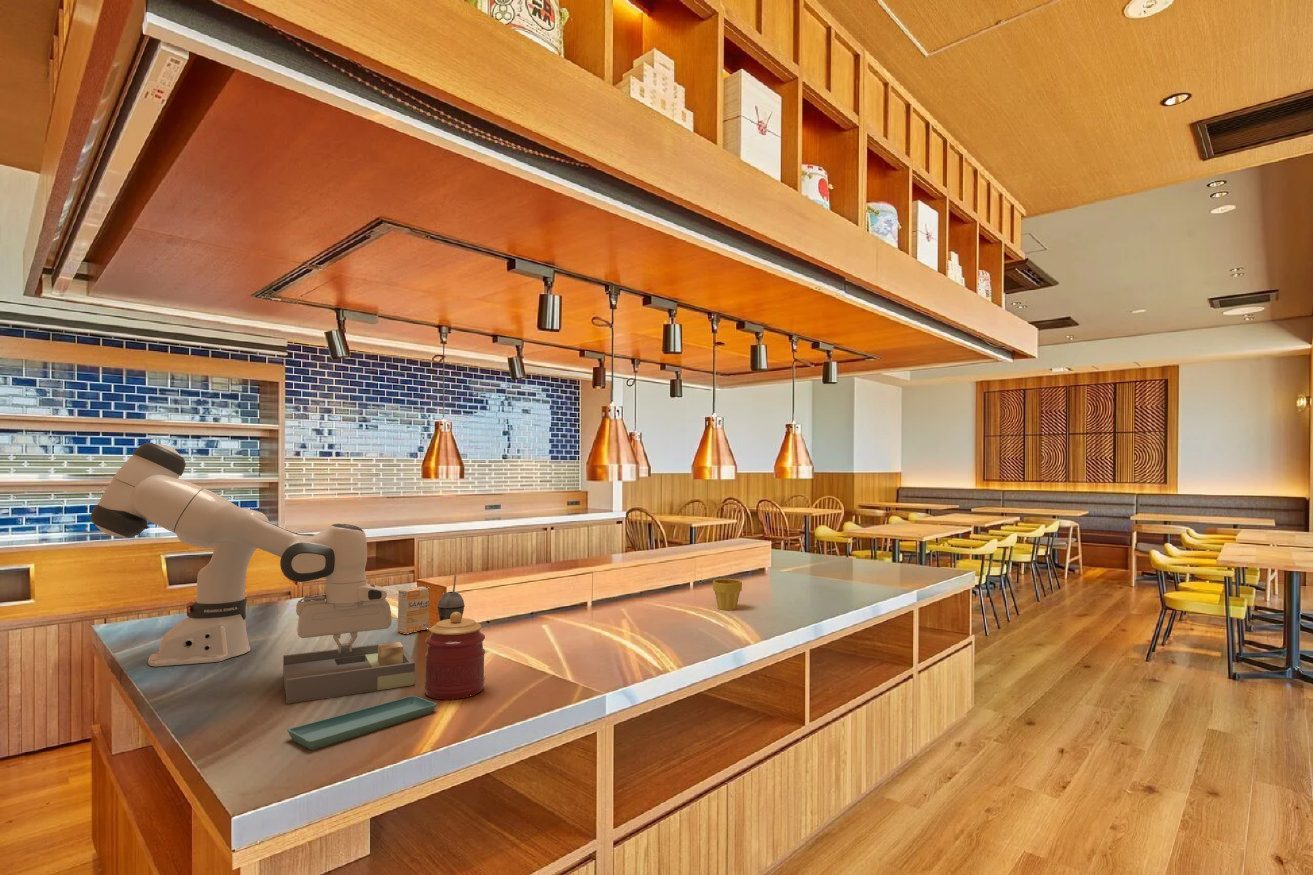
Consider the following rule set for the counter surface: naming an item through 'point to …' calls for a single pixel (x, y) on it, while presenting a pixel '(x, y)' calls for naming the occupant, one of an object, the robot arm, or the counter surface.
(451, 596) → the beverage cup
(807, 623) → the counter surface
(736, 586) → the plant pot
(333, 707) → the counter surface
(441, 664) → the canister
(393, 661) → the birch block
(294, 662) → the trap board
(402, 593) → the supplement box
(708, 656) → the counter surface
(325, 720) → the rectangular tray
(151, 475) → the robot arm
